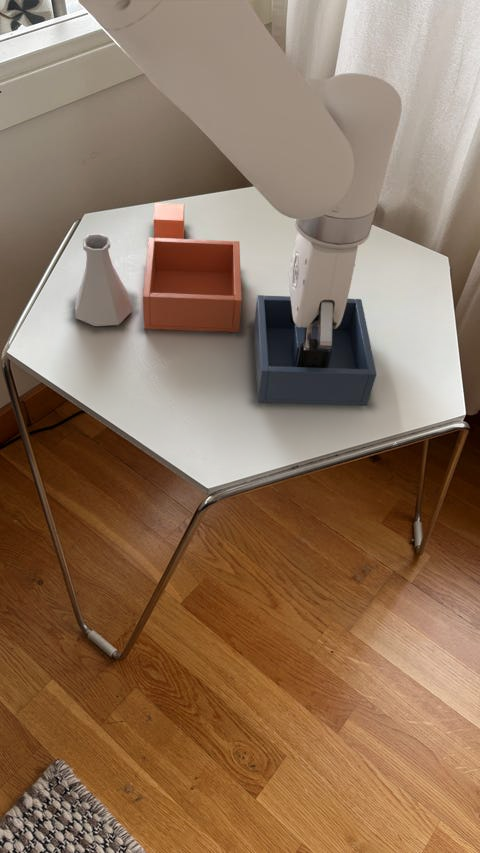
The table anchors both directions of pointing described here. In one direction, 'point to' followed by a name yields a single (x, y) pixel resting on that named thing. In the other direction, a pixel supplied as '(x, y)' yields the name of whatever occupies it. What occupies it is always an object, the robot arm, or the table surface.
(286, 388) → the slate bin
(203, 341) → the table surface
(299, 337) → the slate block
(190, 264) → the terracotta bin
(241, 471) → the table surface
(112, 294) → the flask
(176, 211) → the terracotta block
